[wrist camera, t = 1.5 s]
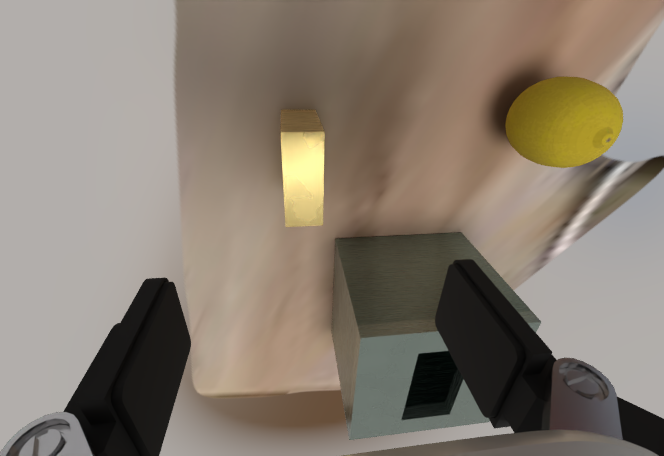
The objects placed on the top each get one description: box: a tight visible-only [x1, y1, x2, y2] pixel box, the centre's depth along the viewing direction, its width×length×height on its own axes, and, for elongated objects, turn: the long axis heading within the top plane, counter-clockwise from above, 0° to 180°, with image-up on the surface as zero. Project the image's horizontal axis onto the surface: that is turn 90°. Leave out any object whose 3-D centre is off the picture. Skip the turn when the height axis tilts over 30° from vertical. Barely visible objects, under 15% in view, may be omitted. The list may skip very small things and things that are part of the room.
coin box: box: [332, 233, 541, 440], centre depth 28 cm, size 12×12×11 cm
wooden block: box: [280, 110, 324, 227], centre depth 22 cm, size 6×2×6 cm, turn 178°
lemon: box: [505, 77, 623, 168], centre depth 21 cm, size 6×6×8 cm
